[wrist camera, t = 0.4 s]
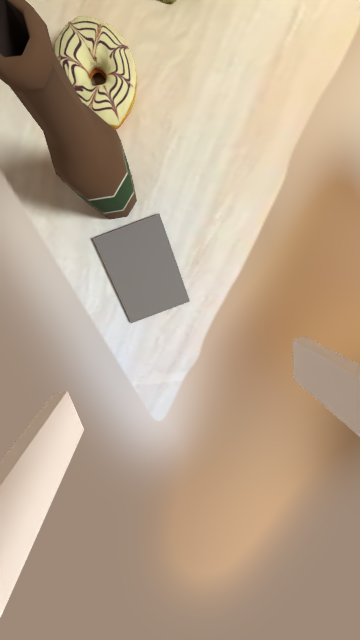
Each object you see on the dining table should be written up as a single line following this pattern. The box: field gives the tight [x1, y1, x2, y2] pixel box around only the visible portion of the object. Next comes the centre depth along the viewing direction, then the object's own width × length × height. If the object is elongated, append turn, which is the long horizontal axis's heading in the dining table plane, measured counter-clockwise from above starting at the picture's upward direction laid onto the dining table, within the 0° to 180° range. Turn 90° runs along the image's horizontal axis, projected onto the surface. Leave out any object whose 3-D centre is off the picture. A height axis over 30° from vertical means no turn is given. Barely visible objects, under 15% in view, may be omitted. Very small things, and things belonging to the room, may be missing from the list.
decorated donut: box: [54, 16, 137, 129], centre depth 27 cm, size 10×11×4 cm
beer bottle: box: [0, 0, 137, 219], centre depth 21 cm, size 8×8×24 cm
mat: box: [93, 214, 189, 323], centre depth 36 cm, size 16×12×1 cm
